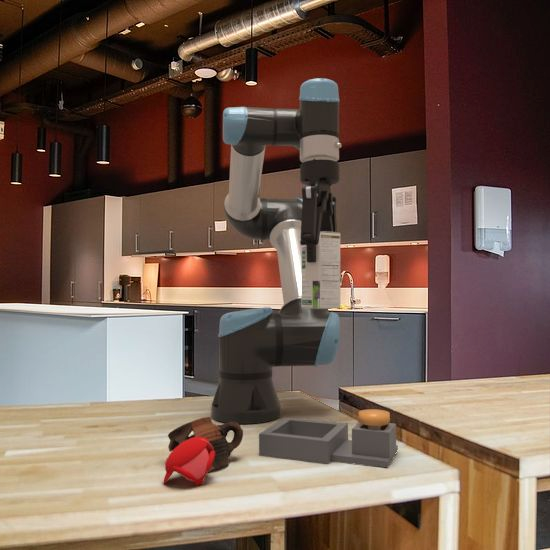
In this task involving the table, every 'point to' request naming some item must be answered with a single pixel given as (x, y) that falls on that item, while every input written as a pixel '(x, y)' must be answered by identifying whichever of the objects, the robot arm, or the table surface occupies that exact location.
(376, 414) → the plunger
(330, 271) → the syrup box
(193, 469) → the cap
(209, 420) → the pottery mug
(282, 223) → the robot arm
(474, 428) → the table surface
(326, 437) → the grey rectangular open-box piece
